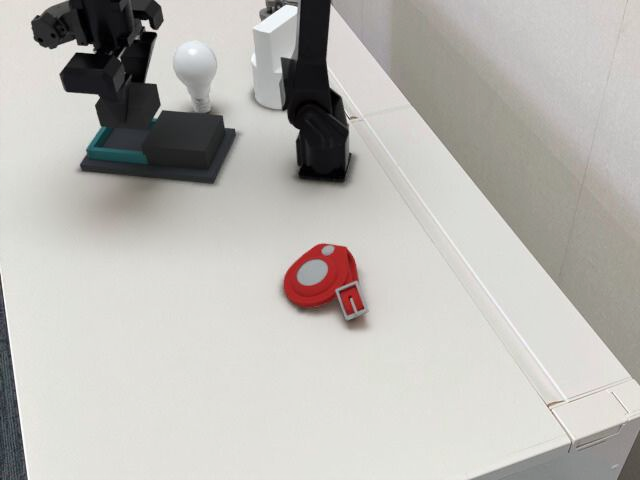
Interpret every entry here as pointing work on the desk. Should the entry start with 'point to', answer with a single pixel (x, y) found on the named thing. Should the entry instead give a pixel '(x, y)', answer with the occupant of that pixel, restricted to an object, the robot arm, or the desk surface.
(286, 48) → the base with upright slab
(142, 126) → the black block
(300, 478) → the desk surface
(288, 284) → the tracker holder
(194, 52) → the lightbulb
